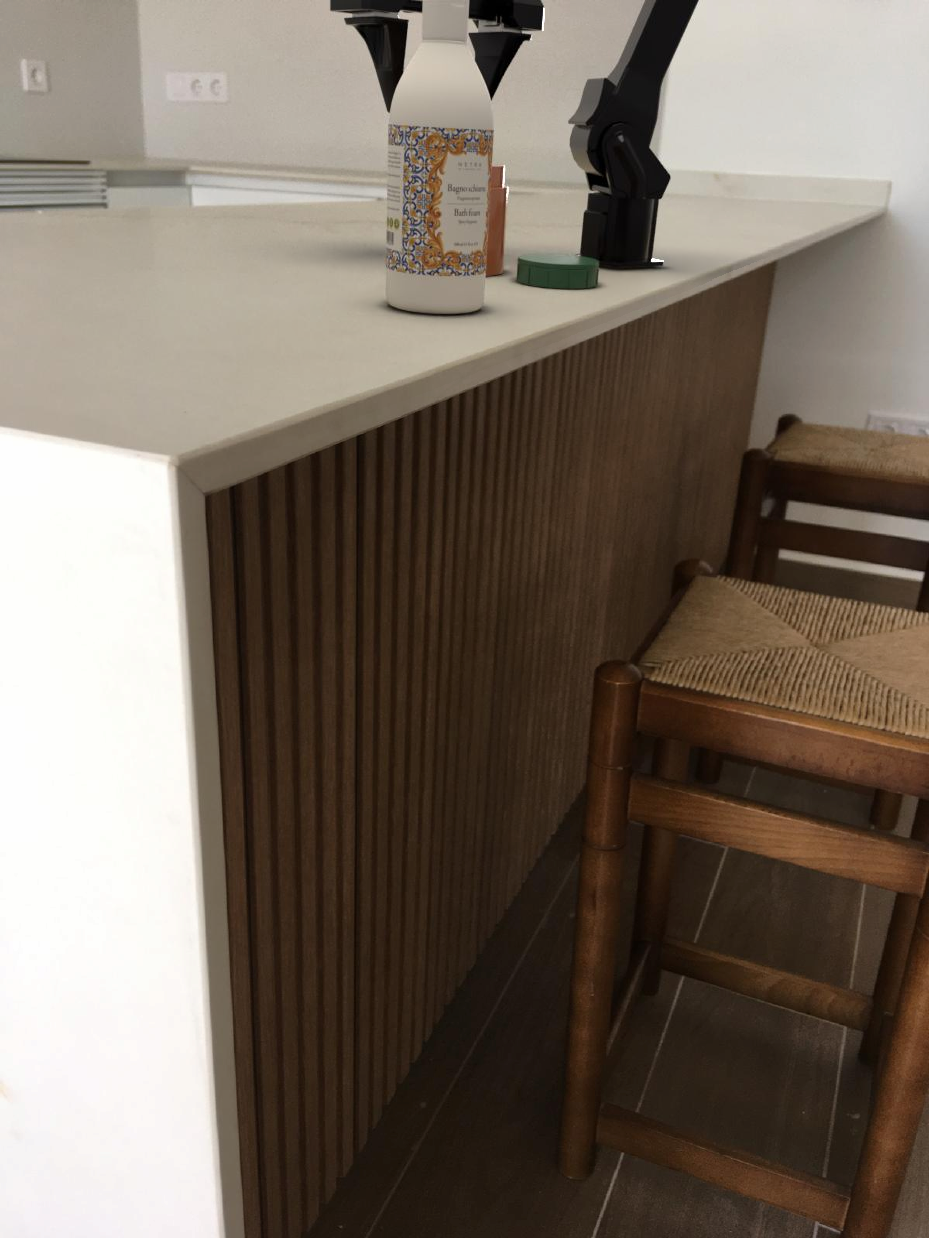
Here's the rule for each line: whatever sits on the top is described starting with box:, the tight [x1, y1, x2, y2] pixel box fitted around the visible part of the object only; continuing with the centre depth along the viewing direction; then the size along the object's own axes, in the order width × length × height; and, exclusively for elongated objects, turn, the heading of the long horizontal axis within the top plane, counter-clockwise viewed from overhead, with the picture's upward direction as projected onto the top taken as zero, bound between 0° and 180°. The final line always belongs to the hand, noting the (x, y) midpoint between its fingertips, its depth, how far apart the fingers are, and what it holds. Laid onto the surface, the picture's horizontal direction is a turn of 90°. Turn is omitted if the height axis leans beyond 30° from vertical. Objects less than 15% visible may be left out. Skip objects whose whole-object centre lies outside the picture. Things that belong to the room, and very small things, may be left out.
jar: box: [485, 163, 509, 277], centre depth 92 cm, size 6×6×9 cm
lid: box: [515, 253, 600, 290], centre depth 89 cm, size 7×7×2 cm
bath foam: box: [385, 0, 495, 315], centre depth 71 cm, size 7×7×20 cm
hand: (436, 116), depth 95 cm, fingers open, 9 cm apart
